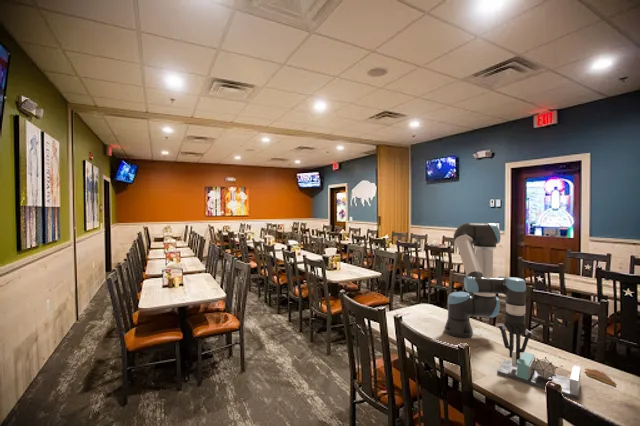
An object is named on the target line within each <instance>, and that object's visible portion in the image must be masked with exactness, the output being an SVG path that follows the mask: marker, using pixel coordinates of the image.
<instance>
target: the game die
mask: <svg viewBox="0 0 640 426" xmlns="http://www.w3.org/2000/svg"><path fill="white" fill-rule="evenodd" d="M534 362H535V366H534V369H533V368H532V370H535V371H536V372H537V373H538V374H539V375H540V376H541V377H542V378H543V381H544V378H549V377H551V378H553V377H552V376H555V377H556V375H555V374H556V369H558V366H555V365H554V364H553V362H550V361H549V360H548V359H547V356H545V357H544V358H542V359H539V358H536V360H535V361H534Z"/></svg>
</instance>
